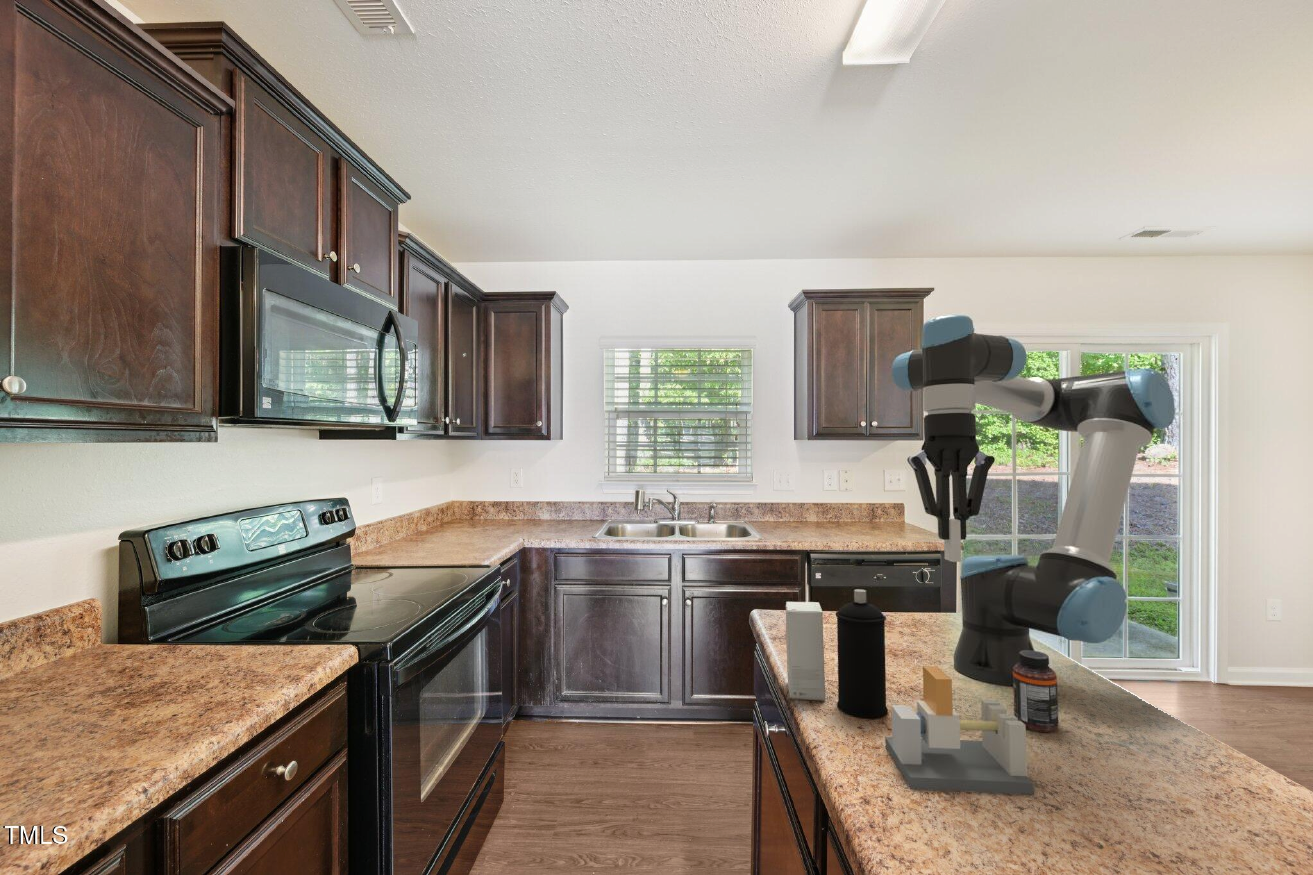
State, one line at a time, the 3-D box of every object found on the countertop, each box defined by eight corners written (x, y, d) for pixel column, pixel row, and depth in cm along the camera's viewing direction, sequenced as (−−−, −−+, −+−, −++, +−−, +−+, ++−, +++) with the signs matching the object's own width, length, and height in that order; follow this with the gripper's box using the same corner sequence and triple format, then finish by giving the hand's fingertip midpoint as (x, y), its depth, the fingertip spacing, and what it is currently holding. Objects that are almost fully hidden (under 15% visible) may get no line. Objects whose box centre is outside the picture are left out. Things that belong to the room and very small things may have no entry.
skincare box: (825, 702, 102) (824, 612, 103) (787, 699, 104) (786, 610, 104) (821, 684, 111) (820, 601, 111) (786, 681, 112) (785, 599, 112)
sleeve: (946, 732, 83) (944, 666, 83) (961, 749, 78) (959, 679, 78) (916, 731, 83) (915, 665, 83) (930, 748, 78) (928, 678, 78)
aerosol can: (863, 723, 94) (861, 598, 95) (826, 704, 101) (824, 588, 102) (898, 713, 98) (896, 592, 99) (861, 695, 105) (859, 583, 106)
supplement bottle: (1016, 713, 97) (1014, 645, 98) (1059, 723, 94) (1057, 652, 94) (1011, 727, 93) (1010, 654, 93) (1057, 737, 89) (1055, 662, 89)
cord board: (992, 751, 85) (990, 695, 85) (1033, 794, 74) (1031, 730, 74) (885, 747, 86) (884, 692, 86) (910, 788, 75) (909, 725, 76)
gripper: (980, 414, 97) (984, 556, 96) (899, 415, 99) (903, 556, 98) (1003, 410, 90) (1007, 564, 89) (915, 411, 91) (918, 563, 90)
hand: (952, 560), depth 93 cm, fingers closed
